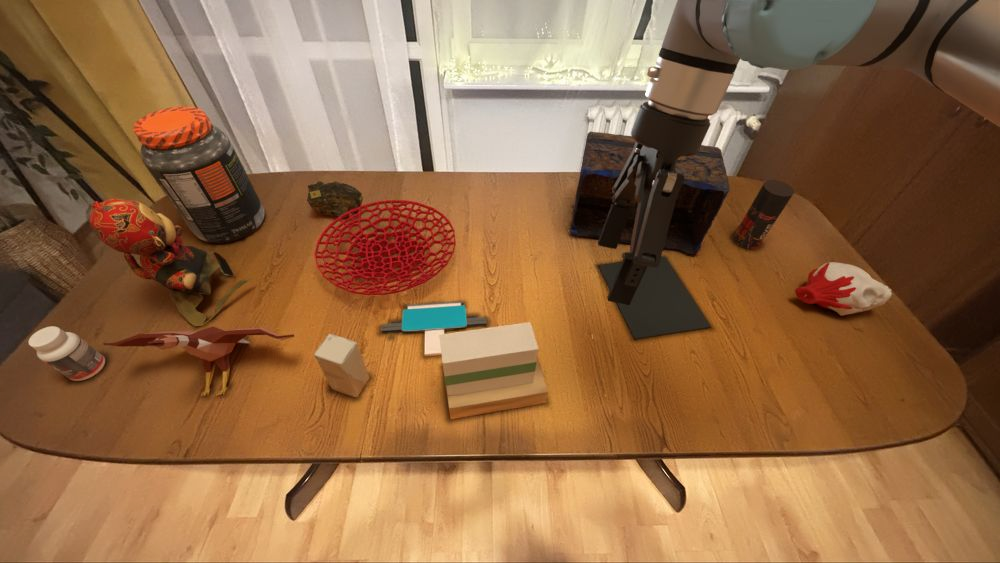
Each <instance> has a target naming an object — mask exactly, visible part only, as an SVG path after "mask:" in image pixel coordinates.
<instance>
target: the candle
mask: <svg viewBox="0 0 1000 563" xmlns="http://www.w3.org/2000/svg"><path fill="white" fill-rule="evenodd" d="M794 293H795V295H796V298H797V299H799V300H801V302H803V303H806V304H808V305H813V304H816V305H818V306H819V307H822V308H824V309H827V310H829V309H830V310H832V311H833V312H836V313H837V314H838V315H839V316H841V317H842V316H846V315H853V314H857V313H862V312H867V311H870V310H872V309H874V308H877V307H881V306H883V305H885V304H886V303H887V302H888V301H889V300H890V298H891V297H892V295H893V293H892V288H889V286H887V285H885V284H883V282H881V281H878V280H876V279H874V278H873V277H871V275H870V274H869V273H868V272H867V271H865V270H863V268H861V267H858V266H856V265H853V264H850V263H843V262H838V261H837V262H835V261H830V262H826V263H824V264H822V265H820V266H819V267H818V268H814V269H812V270H811V271H810V272H809V273H808V277H807V283H806V285H805V286H798V287H797V288H795V290H794Z"/></svg>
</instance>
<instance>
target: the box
mask: <svg viewBox="0 0 1000 563" xmlns="http://www.w3.org/2000/svg"><path fill="white" fill-rule="evenodd" d="M313 355H314V358H315V359H316V361H317V363H318V365H319V367H320V369H321V371H322V372H323V374H324V377H325V378H326V380H327V383H328V384H329V386H330V388H331V389H332V390H333V391H336V392H339V393H340V394H341V393H342V394H345V395H347V396H350V397H353V398H358V397H359V396H360V394H361V393H362V391H363V389H364V388H365V386H366V384H367V383H368V381H369V379H370V375H369V372H368V370H367V367H366V364H365V362H364V361H365V360H364V358H363V355H362V353H361V352H360V348H359V346H358V343H357V341H354V340H351V339H349V338H346V337H342V336H339V335H336V334H333V333H328V334H327V336H325V338H324V339H323V341H322V342H321V343H320V344H319V346H318V347H317V349H316V351H315V352H314V354H313Z"/></svg>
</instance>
